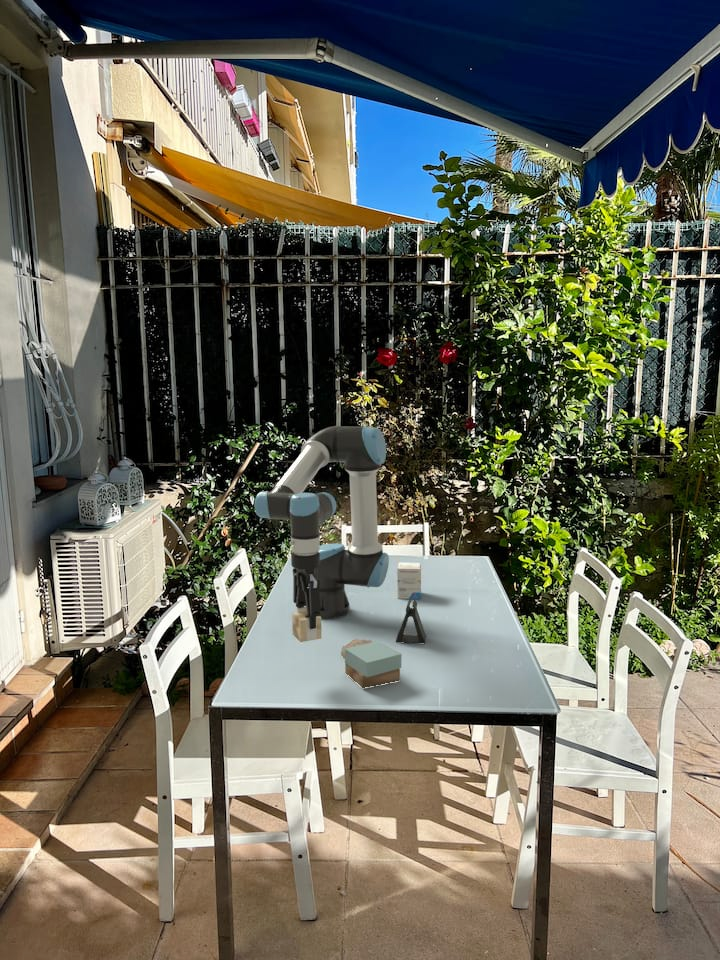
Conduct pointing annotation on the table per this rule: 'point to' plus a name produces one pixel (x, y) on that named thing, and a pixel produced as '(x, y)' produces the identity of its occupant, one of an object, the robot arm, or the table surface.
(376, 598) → the table surface
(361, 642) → the stone
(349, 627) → the table surface
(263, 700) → the table surface
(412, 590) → the ink box
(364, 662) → the tower top
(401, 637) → the phone stand
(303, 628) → the oak block
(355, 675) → the tower base
